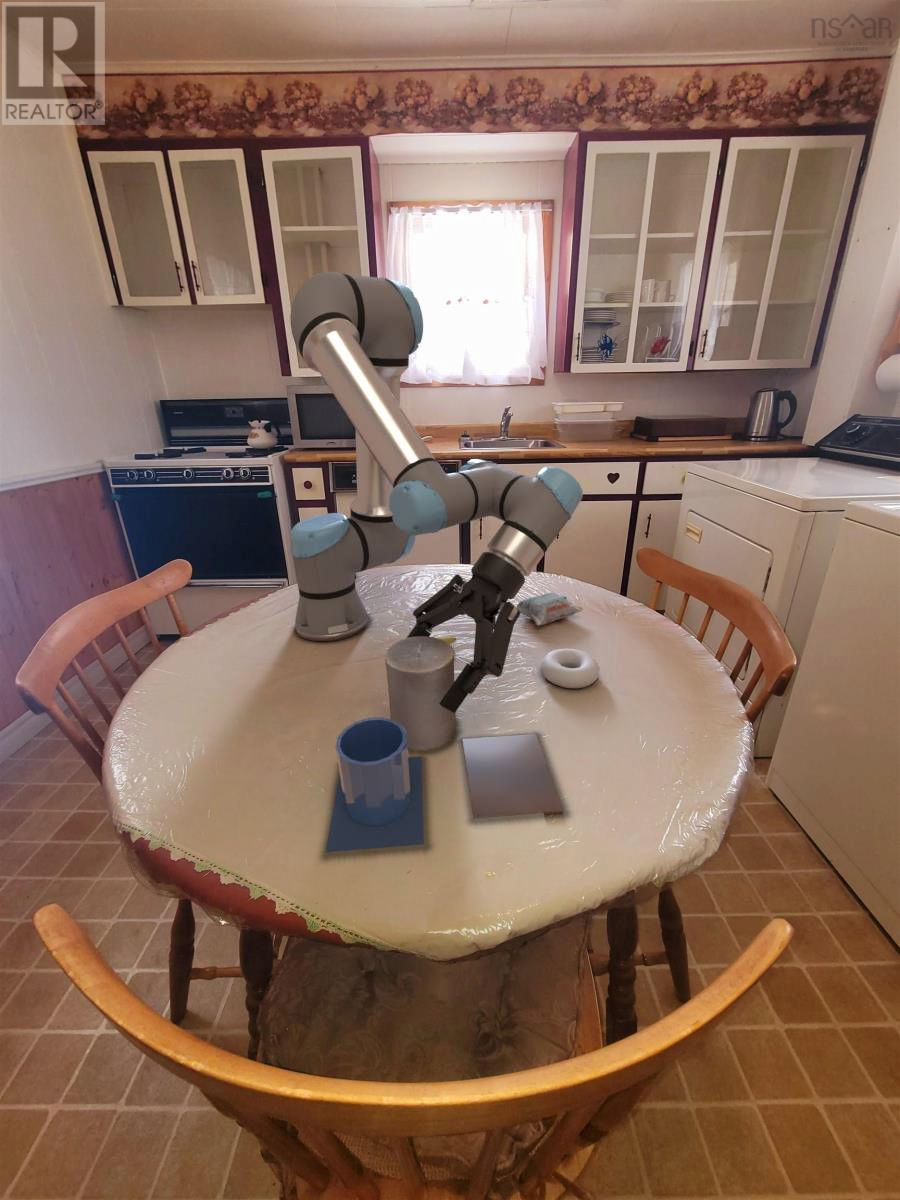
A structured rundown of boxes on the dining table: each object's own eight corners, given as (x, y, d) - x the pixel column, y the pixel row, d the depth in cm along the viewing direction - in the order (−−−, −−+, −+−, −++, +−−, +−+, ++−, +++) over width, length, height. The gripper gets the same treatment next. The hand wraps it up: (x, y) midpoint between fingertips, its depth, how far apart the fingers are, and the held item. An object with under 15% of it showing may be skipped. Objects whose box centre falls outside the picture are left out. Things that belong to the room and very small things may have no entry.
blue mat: (342, 764, 67) (341, 762, 67) (421, 759, 68) (421, 756, 67) (326, 855, 54) (325, 852, 54) (424, 846, 55) (423, 843, 55)
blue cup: (349, 777, 64) (340, 719, 60) (411, 772, 65) (406, 715, 61) (341, 829, 57) (331, 767, 53) (411, 823, 57) (406, 761, 53)
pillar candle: (425, 702, 79) (420, 621, 73) (469, 729, 73) (468, 643, 67) (378, 731, 73) (369, 645, 67) (422, 763, 67) (416, 671, 61)
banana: (414, 648, 95) (413, 630, 94) (415, 644, 97) (414, 626, 95) (456, 648, 95) (455, 630, 93) (456, 644, 97) (456, 626, 95)
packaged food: (581, 619, 105) (583, 599, 103) (537, 633, 100) (538, 611, 98) (555, 605, 112) (556, 585, 110) (513, 617, 107) (513, 597, 105)
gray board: (462, 741, 71) (461, 738, 70) (536, 736, 71) (536, 733, 71) (473, 820, 58) (473, 817, 58) (563, 813, 59) (563, 810, 58)
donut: (539, 690, 82) (600, 694, 80) (540, 672, 81) (602, 677, 79) (541, 659, 91) (596, 662, 89) (542, 643, 89) (598, 646, 87)
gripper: (581, 605, 63) (488, 740, 62) (471, 555, 82) (399, 657, 81) (553, 577, 58) (452, 722, 57) (444, 530, 78) (367, 638, 77)
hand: (421, 684), depth 69 cm, fingers open, 13 cm apart
